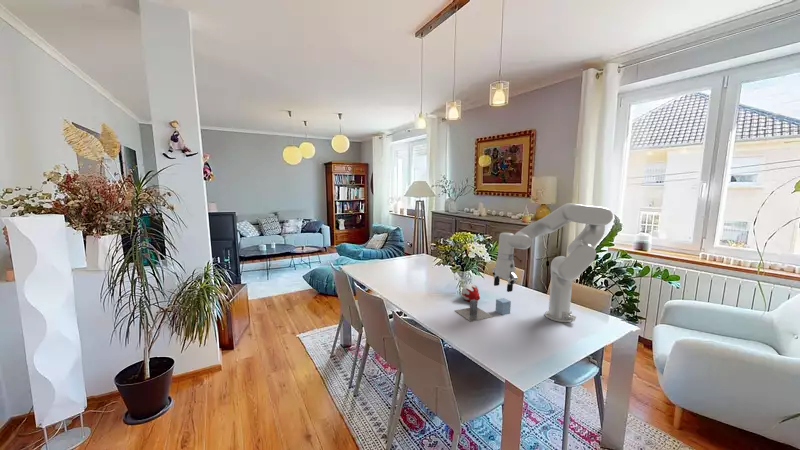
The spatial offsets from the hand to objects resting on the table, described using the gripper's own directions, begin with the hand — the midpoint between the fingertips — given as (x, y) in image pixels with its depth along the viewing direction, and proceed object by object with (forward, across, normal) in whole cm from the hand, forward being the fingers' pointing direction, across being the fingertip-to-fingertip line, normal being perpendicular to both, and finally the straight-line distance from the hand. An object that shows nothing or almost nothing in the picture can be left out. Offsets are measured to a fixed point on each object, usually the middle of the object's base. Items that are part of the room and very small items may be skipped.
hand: (502, 288), depth 160 cm
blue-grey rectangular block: (+13, 0, -1) cm, 13 cm away
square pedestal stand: (+13, +4, +15) cm, 21 cm away
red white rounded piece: (+14, +20, +4) cm, 25 cm away
